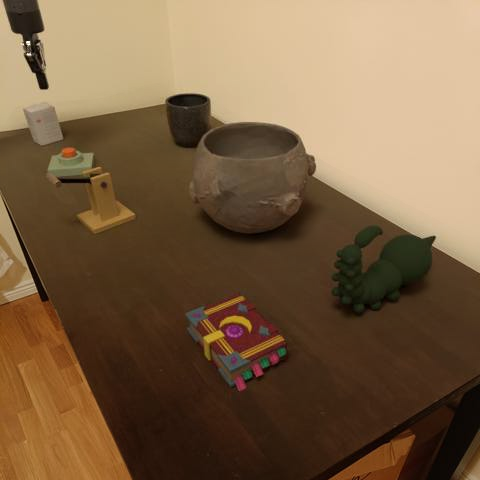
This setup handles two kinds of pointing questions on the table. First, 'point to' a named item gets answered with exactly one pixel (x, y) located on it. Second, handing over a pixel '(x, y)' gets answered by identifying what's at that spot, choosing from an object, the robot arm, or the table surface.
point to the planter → (188, 117)
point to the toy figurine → (380, 268)
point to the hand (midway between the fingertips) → (44, 88)
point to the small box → (43, 123)
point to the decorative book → (236, 339)
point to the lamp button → (68, 152)
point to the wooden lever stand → (103, 204)
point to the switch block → (71, 164)
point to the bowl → (250, 175)
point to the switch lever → (68, 179)
